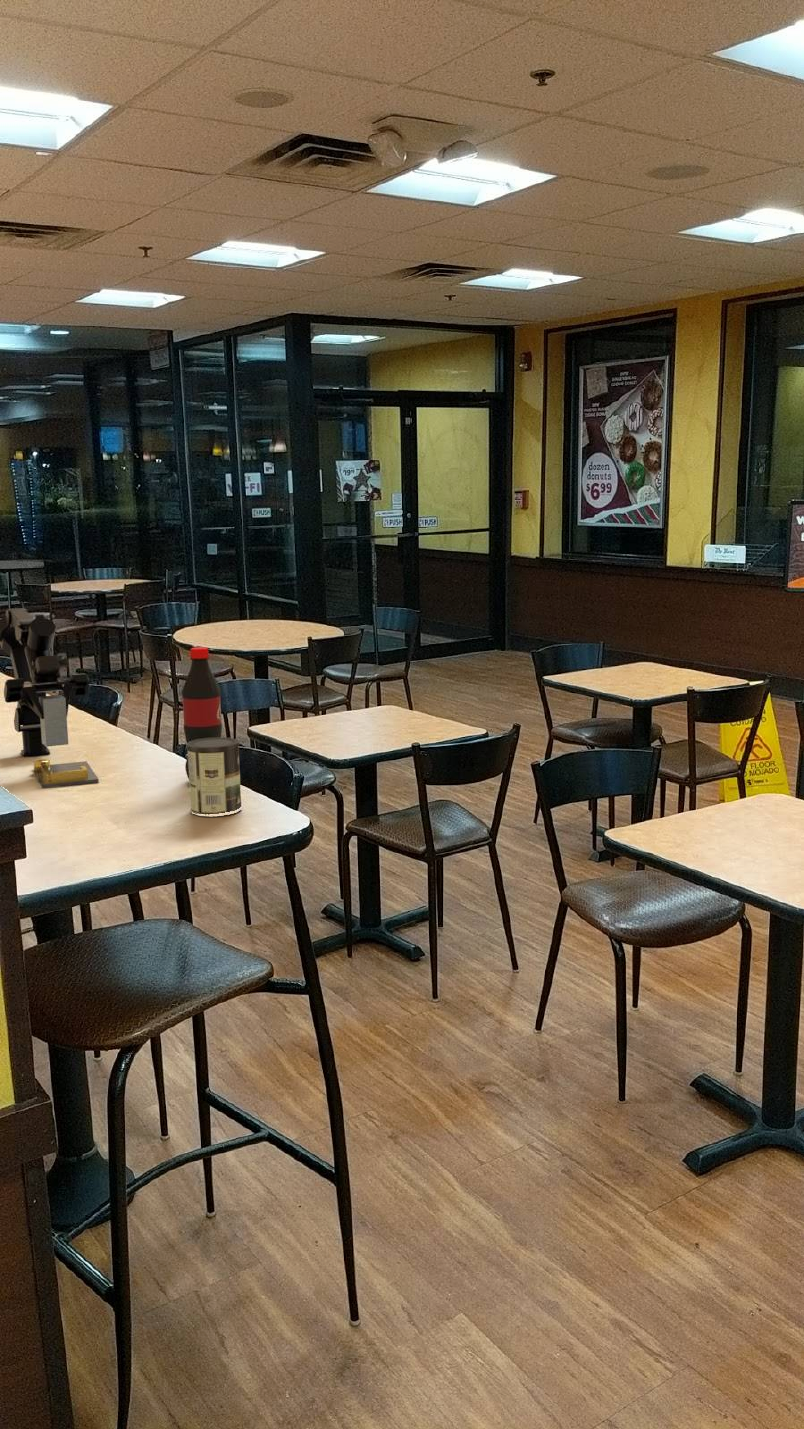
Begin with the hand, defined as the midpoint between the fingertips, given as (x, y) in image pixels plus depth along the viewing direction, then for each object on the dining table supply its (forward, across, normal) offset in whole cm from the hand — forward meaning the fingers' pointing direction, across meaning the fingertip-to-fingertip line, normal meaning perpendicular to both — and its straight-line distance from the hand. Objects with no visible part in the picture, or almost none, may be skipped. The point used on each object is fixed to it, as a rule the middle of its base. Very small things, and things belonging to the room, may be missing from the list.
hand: (54, 716), depth 249 cm
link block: (+4, 0, +6) cm, 7 cm away
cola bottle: (+28, +26, -9) cm, 39 cm away
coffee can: (+45, +20, -27) cm, 56 cm away
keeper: (+12, +1, +7) cm, 14 cm away
